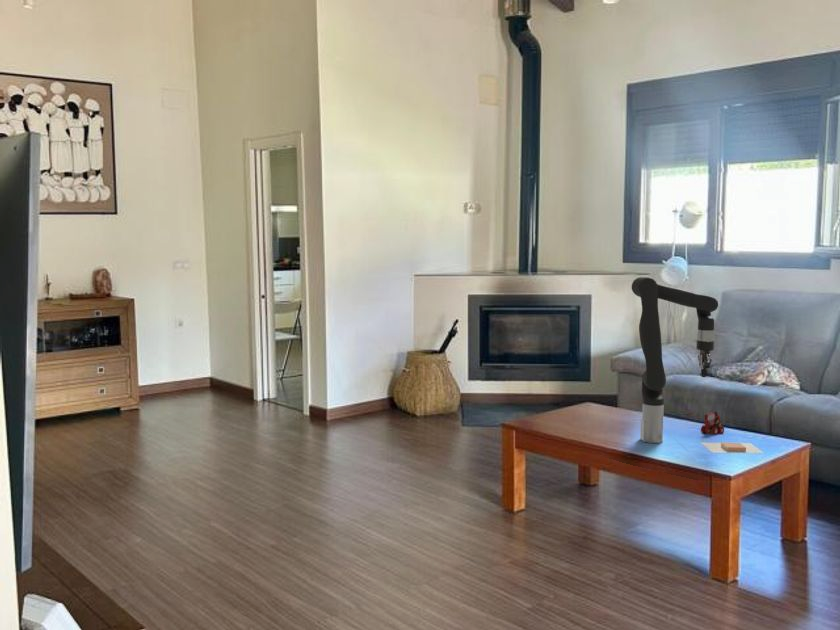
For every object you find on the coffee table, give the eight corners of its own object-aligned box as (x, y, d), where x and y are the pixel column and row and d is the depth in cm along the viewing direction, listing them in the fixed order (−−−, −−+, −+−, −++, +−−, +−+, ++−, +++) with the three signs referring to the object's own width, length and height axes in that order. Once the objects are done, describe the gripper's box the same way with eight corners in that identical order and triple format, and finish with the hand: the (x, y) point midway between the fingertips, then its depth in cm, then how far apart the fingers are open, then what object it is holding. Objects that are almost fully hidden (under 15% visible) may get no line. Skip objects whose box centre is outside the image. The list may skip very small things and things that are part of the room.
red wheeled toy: (726, 433, 374) (727, 411, 373) (711, 437, 366) (712, 415, 365) (713, 430, 379) (713, 409, 378) (698, 434, 371) (699, 412, 370)
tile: (720, 446, 347) (727, 451, 339) (720, 442, 347) (727, 447, 339) (739, 446, 347) (745, 451, 339) (739, 442, 346) (746, 447, 338)
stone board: (712, 454, 337) (712, 452, 337) (700, 444, 353) (700, 442, 353) (764, 455, 336) (764, 453, 336) (749, 445, 352) (750, 443, 352)
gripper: (692, 337, 367) (691, 374, 368) (701, 341, 353) (699, 379, 355) (709, 337, 366) (707, 374, 368) (718, 341, 353) (716, 379, 355)
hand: (703, 376), depth 362 cm, fingers closed
